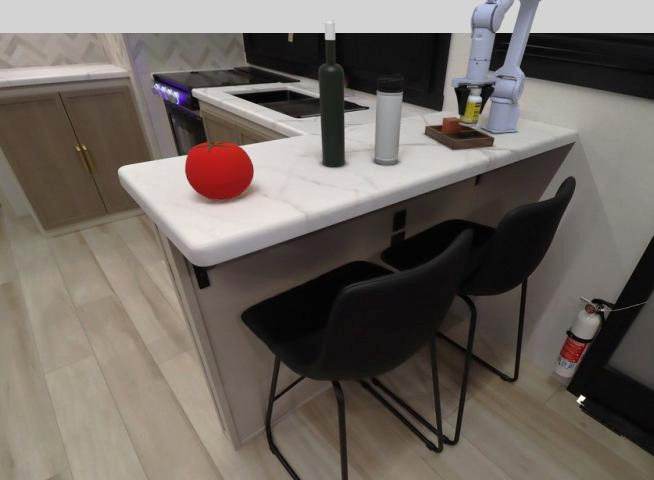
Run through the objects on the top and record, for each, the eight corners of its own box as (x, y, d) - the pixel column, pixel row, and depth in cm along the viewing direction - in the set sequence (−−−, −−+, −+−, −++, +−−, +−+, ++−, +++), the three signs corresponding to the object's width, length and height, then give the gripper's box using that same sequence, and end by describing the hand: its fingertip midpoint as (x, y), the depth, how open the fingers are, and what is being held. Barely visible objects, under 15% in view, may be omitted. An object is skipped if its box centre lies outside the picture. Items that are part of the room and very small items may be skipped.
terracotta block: (452, 131, 124) (455, 117, 121) (460, 135, 121) (462, 120, 118) (441, 132, 123) (443, 117, 120) (448, 136, 120) (450, 121, 117)
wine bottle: (349, 164, 98) (348, 20, 80) (332, 169, 95) (327, 20, 76) (335, 158, 101) (331, 19, 83) (318, 163, 98) (310, 19, 80)
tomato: (180, 198, 78) (164, 143, 71) (229, 180, 87) (219, 129, 80) (220, 213, 73) (207, 155, 67) (267, 191, 82) (260, 138, 76)
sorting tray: (461, 131, 128) (462, 123, 126) (492, 146, 115) (494, 137, 113) (424, 134, 124) (425, 125, 122) (453, 150, 110) (454, 141, 109)
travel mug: (403, 161, 101) (410, 75, 89) (387, 167, 97) (392, 77, 85) (385, 155, 104) (390, 72, 92) (369, 161, 100) (372, 74, 88)
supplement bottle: (473, 128, 110) (480, 89, 104) (455, 125, 112) (461, 87, 106) (479, 124, 113) (486, 87, 107) (462, 121, 116) (468, 85, 110)
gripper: (493, 57, 108) (482, 110, 116) (448, 58, 103) (441, 112, 112) (508, 60, 102) (496, 115, 111) (462, 61, 98) (454, 117, 107)
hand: (469, 114), depth 111 cm, fingers closed on supplement bottle, 5 cm apart
